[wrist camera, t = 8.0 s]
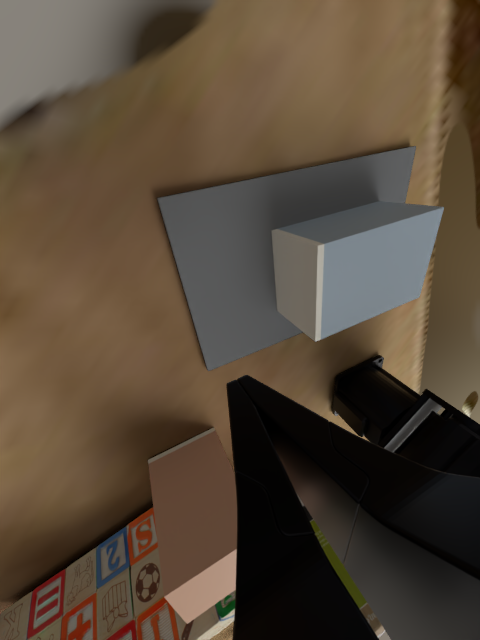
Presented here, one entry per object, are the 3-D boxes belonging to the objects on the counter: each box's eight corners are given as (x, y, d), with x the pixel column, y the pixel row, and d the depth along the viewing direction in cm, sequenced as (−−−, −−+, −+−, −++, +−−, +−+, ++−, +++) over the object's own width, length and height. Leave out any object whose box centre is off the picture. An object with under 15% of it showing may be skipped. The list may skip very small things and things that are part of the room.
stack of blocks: (210, 463, 24) (284, 656, 15) (233, 478, 28) (301, 635, 19) (-3, 614, 22) (-65, 952, 13) (57, 606, 26) (43, 854, 17)
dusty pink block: (147, 460, 21) (164, 597, 14) (213, 427, 23) (260, 532, 15) (164, 490, 23) (187, 624, 16) (224, 458, 25) (270, 564, 17)
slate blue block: (271, 230, 16) (379, 201, 18) (277, 311, 19) (368, 277, 22) (317, 246, 12) (444, 207, 15) (315, 342, 16) (419, 297, 18)
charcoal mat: (410, 146, 18) (416, 146, 17) (382, 296, 24) (386, 298, 24) (156, 197, 13) (157, 198, 13) (206, 368, 19) (208, 371, 19)
